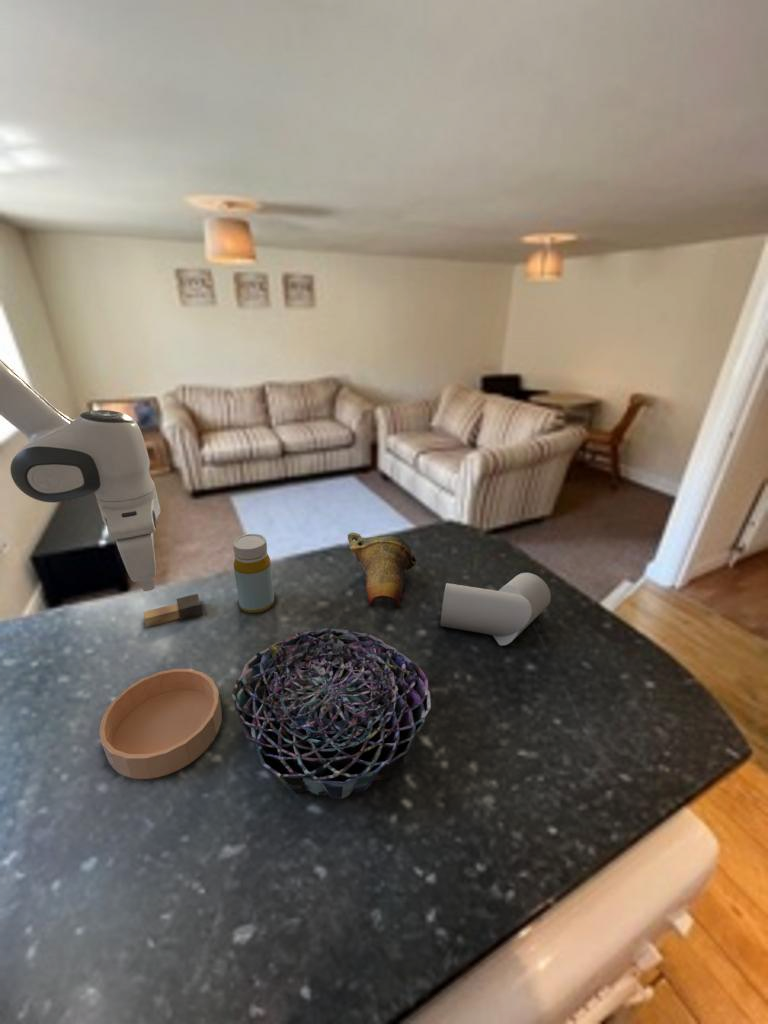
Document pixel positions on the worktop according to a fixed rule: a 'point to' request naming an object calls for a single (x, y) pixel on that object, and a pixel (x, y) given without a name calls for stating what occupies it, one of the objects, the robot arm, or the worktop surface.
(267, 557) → the bottle
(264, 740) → the decorative bowl
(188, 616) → the brush
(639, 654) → the worktop surface
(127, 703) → the wash bowl
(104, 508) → the robot arm
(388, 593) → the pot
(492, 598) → the bent grey cylinder
